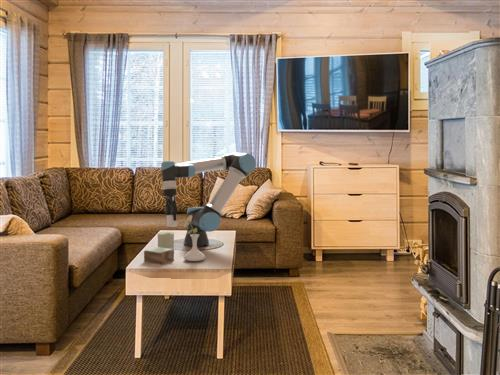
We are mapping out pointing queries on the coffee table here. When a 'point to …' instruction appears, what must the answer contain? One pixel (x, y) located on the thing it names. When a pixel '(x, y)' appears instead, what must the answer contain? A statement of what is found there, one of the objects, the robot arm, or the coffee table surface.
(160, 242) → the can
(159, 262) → the brown square box
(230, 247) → the coffee table surface
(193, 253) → the flower in vase
